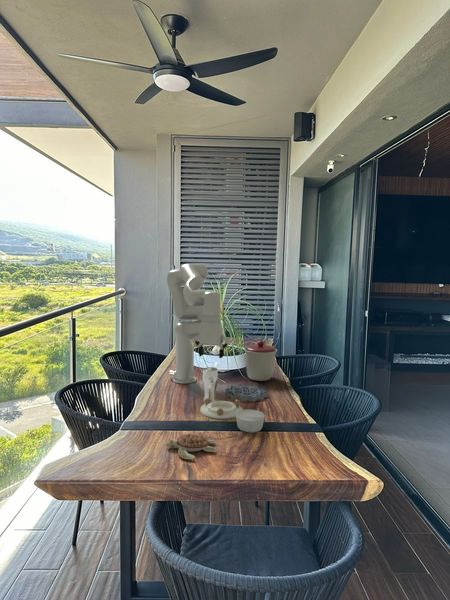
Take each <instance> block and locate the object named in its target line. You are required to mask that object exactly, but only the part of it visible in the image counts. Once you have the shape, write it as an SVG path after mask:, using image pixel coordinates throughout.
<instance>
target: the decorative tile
mask: <svg viewBox="0 0 450 600" xmlns="http://www.w3.org/2000/svg"><path fill="white" fill-rule="evenodd" d="M268 394H269V393H268V392H267V389H266V388H262V387H261V386H258V385H255V386H254V385H252V384H246V385H244V384H238V385H230V387H228V388H225V397H227V398H230V399H231V401H235V400H239V401H240V403H245V402H250V403H255V402H257V401H264V399H265V398H268V397H269V396H268Z"/></svg>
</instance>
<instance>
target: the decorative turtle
mask: <svg viewBox="0 0 450 600" xmlns="http://www.w3.org/2000/svg"><path fill="white" fill-rule="evenodd" d="M215 442H216V440H215V439H211V438H207V437H204V436H202V435H200V434H196V433H187V434H186V433H185V434H182V435H180V436H178V437H177V438H176V439H172V440H171V439H170V440H168V441H167V442H166V447H167V448H169V449H178V450H177V452H178V455H179V456H180V457H181V458H182V459H185V460H194V459H196V456H195V455H193V454H190V453H189V452H192V453H193V452H199V451H202V450H203V451H204V452H209V453H210V452H214V451H216V449H217V448H216V447H214V446H210V443H215Z"/></svg>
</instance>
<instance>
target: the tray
mask: <svg viewBox="0 0 450 600" xmlns="http://www.w3.org/2000/svg"><path fill="white" fill-rule="evenodd" d="M203 403H204V404H202V405H201V406H200V410H199V411H200V413H201V414H202V415H203V416H204V417H207V418H211V419H216V420H230V419H234V418H236V413H237V412H238V411H241V410H244V409H243V407H242V406H241V401H239V400H233V402H232V401H227V400H216V401H213V402H211V400H210V399H209V398H206V399H205V401H204V402H203Z"/></svg>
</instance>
